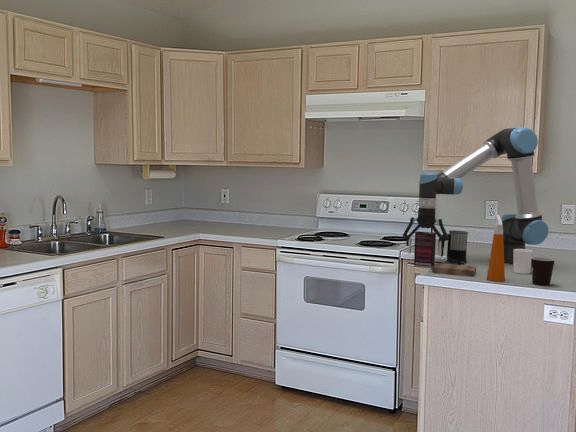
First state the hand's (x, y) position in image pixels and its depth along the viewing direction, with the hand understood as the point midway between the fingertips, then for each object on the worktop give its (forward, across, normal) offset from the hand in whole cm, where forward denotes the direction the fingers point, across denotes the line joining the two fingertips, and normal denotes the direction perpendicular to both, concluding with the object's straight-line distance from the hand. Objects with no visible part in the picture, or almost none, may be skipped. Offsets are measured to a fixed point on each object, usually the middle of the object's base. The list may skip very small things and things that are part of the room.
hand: (424, 254), depth 270 cm
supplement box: (+6, 0, 0) cm, 6 cm away
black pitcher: (+6, +12, +19) cm, 23 cm away
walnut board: (+6, +14, -7) cm, 17 cm away
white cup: (+6, +41, +8) cm, 42 cm away
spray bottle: (+6, +31, -14) cm, 35 cm away
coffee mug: (+6, +49, -14) cm, 51 cm away
